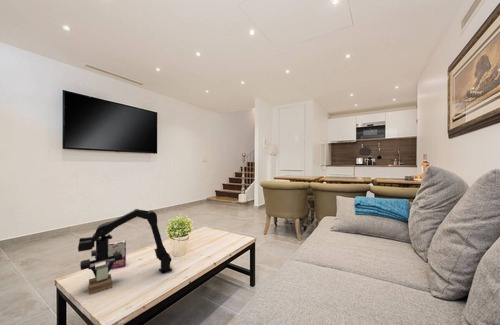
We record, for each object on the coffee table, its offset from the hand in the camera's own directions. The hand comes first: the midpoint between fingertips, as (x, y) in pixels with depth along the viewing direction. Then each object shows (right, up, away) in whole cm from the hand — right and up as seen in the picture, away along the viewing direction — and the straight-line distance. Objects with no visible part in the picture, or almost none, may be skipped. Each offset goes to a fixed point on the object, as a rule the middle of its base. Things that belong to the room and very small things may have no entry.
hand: (101, 275), depth 115 cm
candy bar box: (-6, -6, +21) cm, 23 cm away
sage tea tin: (0, -1, 0) cm, 1 cm away
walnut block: (0, -6, -1) cm, 6 cm away
